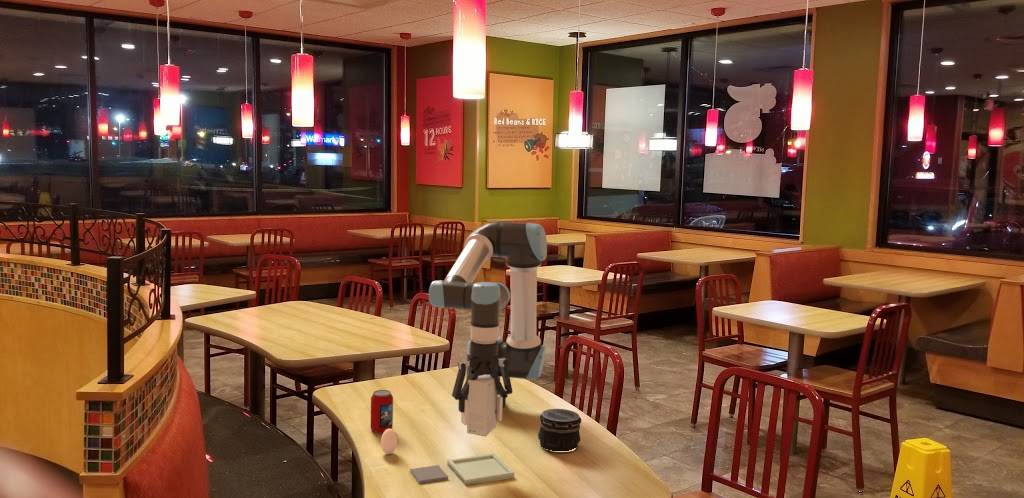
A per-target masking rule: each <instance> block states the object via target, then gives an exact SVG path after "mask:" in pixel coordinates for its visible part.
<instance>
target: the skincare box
mask: <svg viewBox="0 0 1024 498" xmlns="http://www.w3.org/2000/svg"><path fill="white" fill-rule="evenodd" d="M468 384H469V394H468V422H467V425H466V434H469V435H476V436H481V437H487V436H488V435H490V433H491V432H492V431H493V430H494V429H496V428H497V419H496V409H497V388H496V384H495V381H494V378H493V377H491V376H490V375H482V376H478V378H477V379H476V380H468Z"/></svg>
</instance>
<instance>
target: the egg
mask: <svg viewBox="0 0 1024 498" xmlns="http://www.w3.org/2000/svg"><path fill="white" fill-rule="evenodd" d="M380 447H381V448H380V449H381V451H383V452H384V454H386V455H392V454H393V453H394V452H395V451H396V449H397V447H398V438H397V434H396V432H395V431H394V429H393V428H392V429H387V430H385V432H384V433H382V435H381V438H380Z"/></svg>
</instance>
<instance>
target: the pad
mask: <svg viewBox="0 0 1024 498" xmlns="http://www.w3.org/2000/svg"><path fill="white" fill-rule="evenodd" d="M409 470H410V471H409V472H410V474H411V475H412V476H413V478H414V479H415V480H416V481H417V483H418V484H419V485H420V484H426V483H432V482H440V481H446V480H449V476H448V475H447V473H446V472H445V471H444V470H443V469H442V467H440V466H439V465H438V464H437V465H429V466H423V467H415V468H414V467H413V468H411V469H409Z"/></svg>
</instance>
